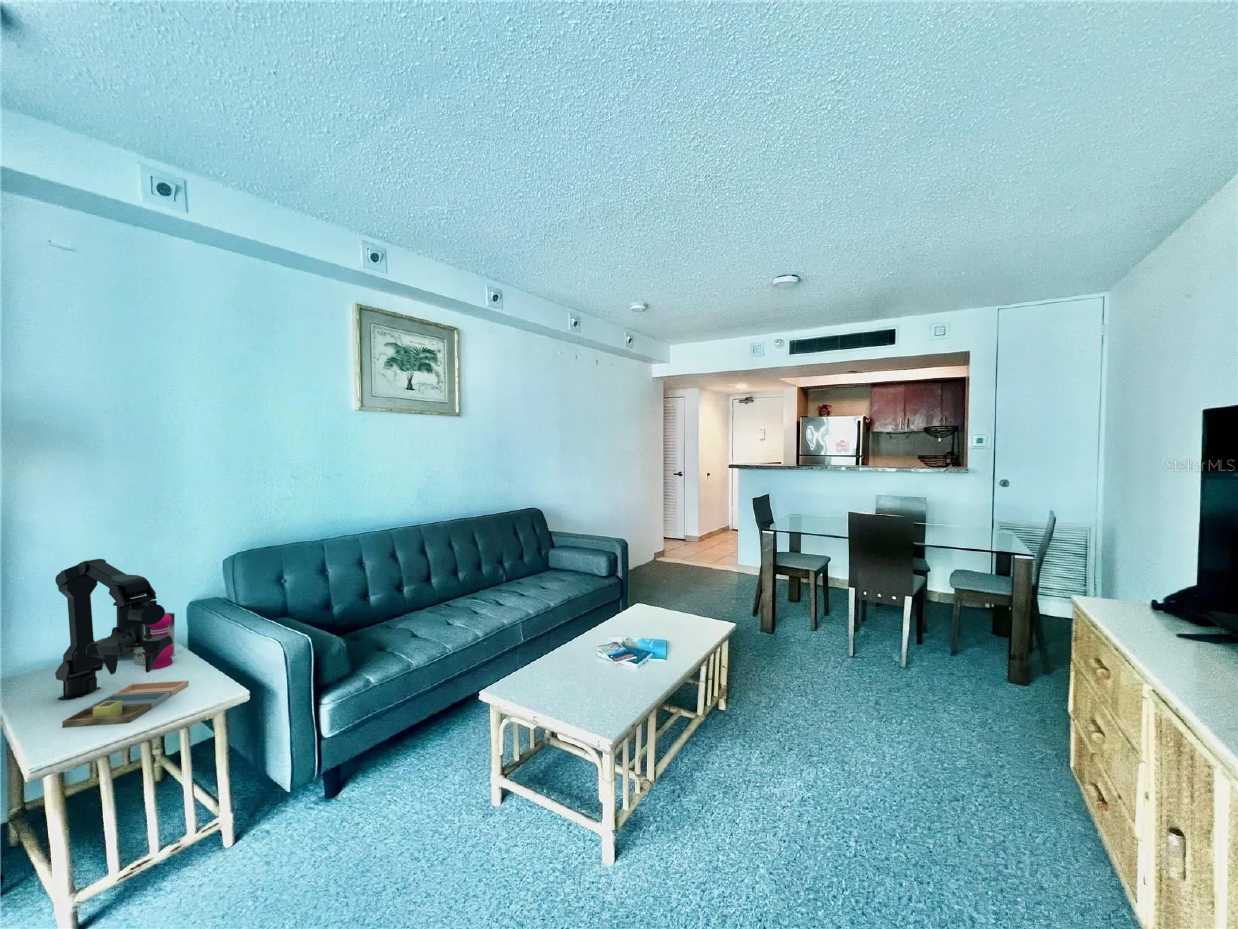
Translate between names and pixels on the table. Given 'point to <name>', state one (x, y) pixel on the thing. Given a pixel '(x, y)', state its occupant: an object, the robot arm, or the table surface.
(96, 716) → the letter cube
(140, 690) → the tray
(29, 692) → the table surface
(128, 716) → the tray
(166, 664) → the pepper mill
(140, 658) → the coffee box
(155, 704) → the tray
